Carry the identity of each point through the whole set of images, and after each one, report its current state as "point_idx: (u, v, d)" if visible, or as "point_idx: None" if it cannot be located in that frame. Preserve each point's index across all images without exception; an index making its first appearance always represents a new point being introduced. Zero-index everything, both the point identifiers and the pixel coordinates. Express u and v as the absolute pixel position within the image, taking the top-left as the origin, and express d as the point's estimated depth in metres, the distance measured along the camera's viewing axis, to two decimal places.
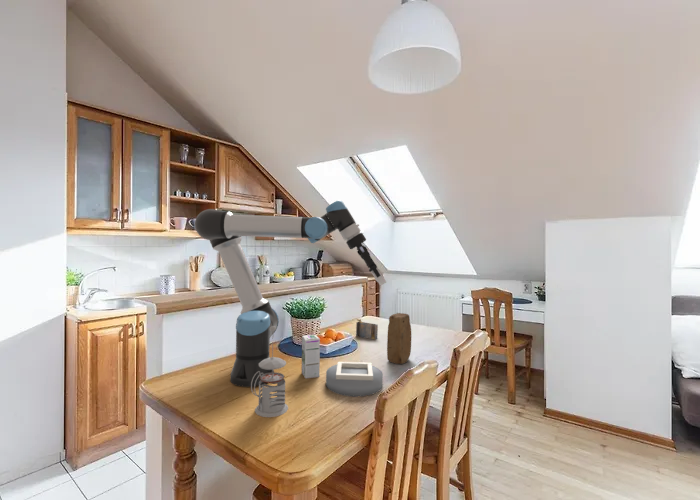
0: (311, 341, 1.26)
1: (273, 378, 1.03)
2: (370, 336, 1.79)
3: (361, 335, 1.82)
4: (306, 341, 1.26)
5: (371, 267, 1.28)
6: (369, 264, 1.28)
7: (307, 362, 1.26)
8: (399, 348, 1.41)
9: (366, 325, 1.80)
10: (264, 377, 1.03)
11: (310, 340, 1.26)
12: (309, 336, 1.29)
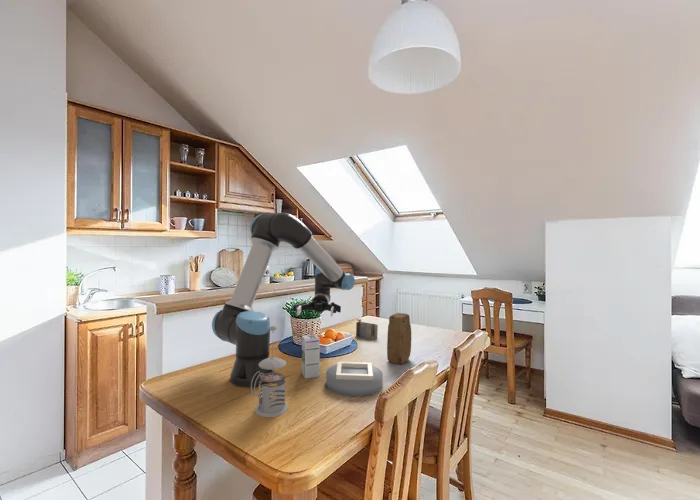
0: (311, 341, 1.26)
1: (273, 378, 1.03)
2: (370, 336, 1.79)
3: (361, 335, 1.82)
4: (306, 341, 1.26)
5: (340, 307, 1.46)
6: None
7: (307, 362, 1.26)
8: (399, 348, 1.41)
9: (366, 325, 1.80)
10: (264, 377, 1.03)
11: (310, 340, 1.26)
12: (309, 336, 1.29)
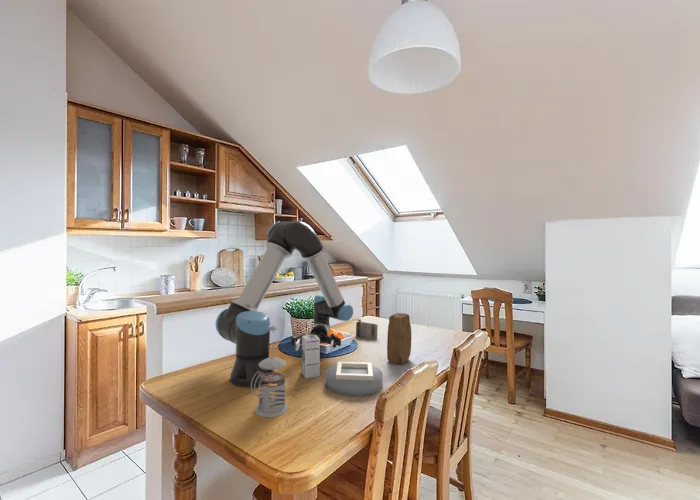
0: (311, 341, 1.26)
1: (273, 378, 1.03)
2: (370, 336, 1.79)
3: (361, 335, 1.82)
4: (306, 341, 1.26)
5: (340, 341, 1.41)
6: None
7: (307, 362, 1.26)
8: (399, 348, 1.41)
9: (366, 325, 1.80)
10: (264, 377, 1.03)
11: (310, 340, 1.26)
12: (309, 336, 1.29)
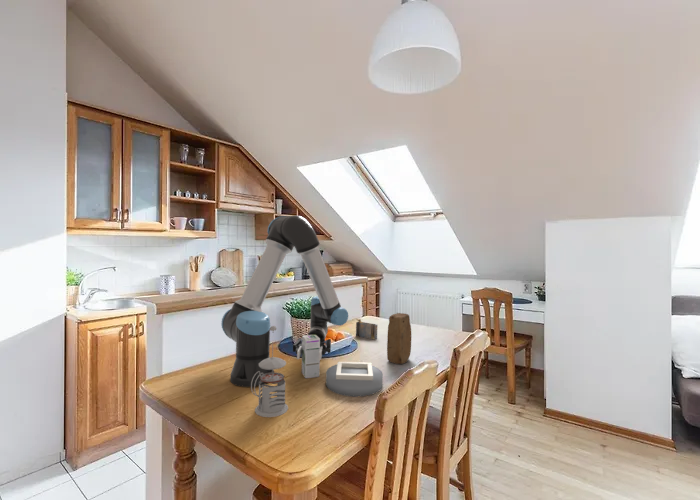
0: (311, 341, 1.26)
1: (273, 378, 1.03)
2: (370, 336, 1.79)
3: (361, 335, 1.82)
4: (306, 341, 1.26)
5: None
6: None
7: (307, 362, 1.26)
8: (399, 348, 1.41)
9: (366, 325, 1.80)
10: (264, 377, 1.03)
11: (310, 339, 1.26)
12: (309, 336, 1.29)
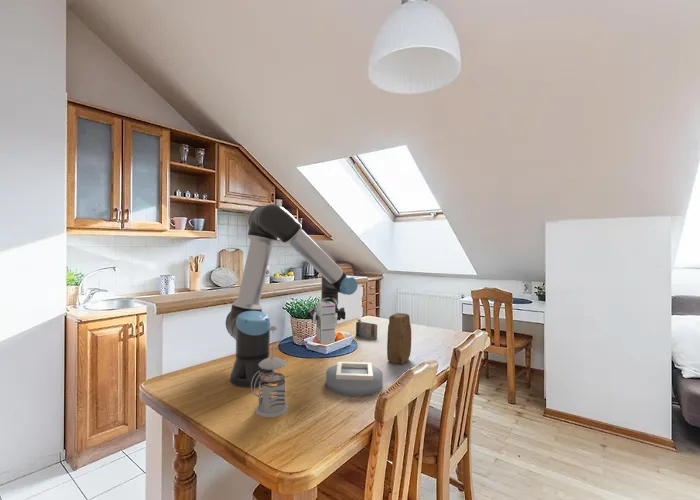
0: (327, 306, 1.25)
1: (273, 378, 1.03)
2: (370, 336, 1.79)
3: (361, 335, 1.82)
4: (322, 306, 1.24)
5: None
6: None
7: (322, 327, 1.25)
8: (399, 348, 1.41)
9: (366, 325, 1.80)
10: (264, 377, 1.03)
11: (325, 305, 1.25)
12: (324, 302, 1.27)
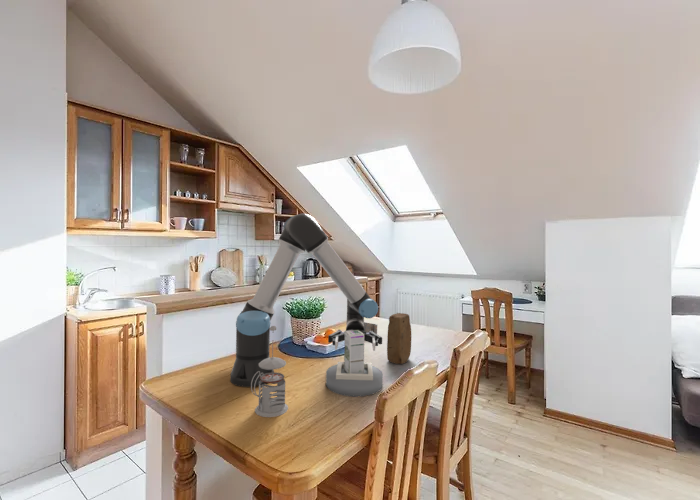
0: (356, 336, 1.19)
1: (273, 378, 1.03)
2: None
3: None
4: (351, 336, 1.19)
5: None
6: None
7: (351, 359, 1.19)
8: (399, 348, 1.41)
9: (366, 325, 1.80)
10: (264, 377, 1.03)
11: (354, 335, 1.19)
12: (352, 332, 1.22)
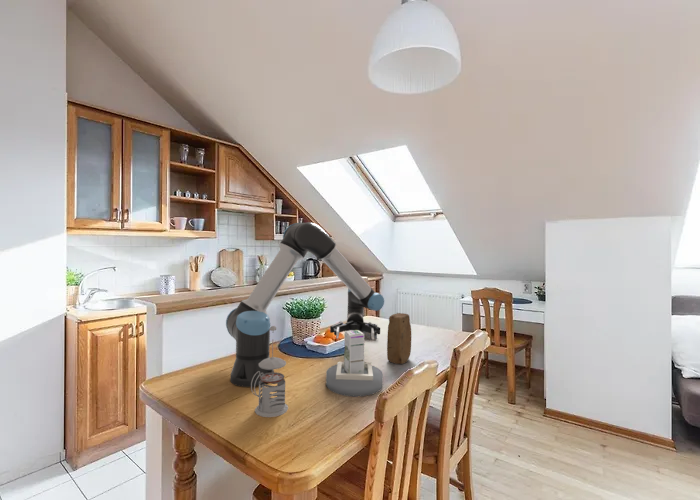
0: (356, 336, 1.19)
1: (273, 378, 1.03)
2: (370, 336, 1.79)
3: None
4: (351, 336, 1.19)
5: None
6: None
7: (351, 359, 1.19)
8: (399, 348, 1.41)
9: None
10: (264, 377, 1.03)
11: (354, 335, 1.19)
12: (352, 332, 1.22)
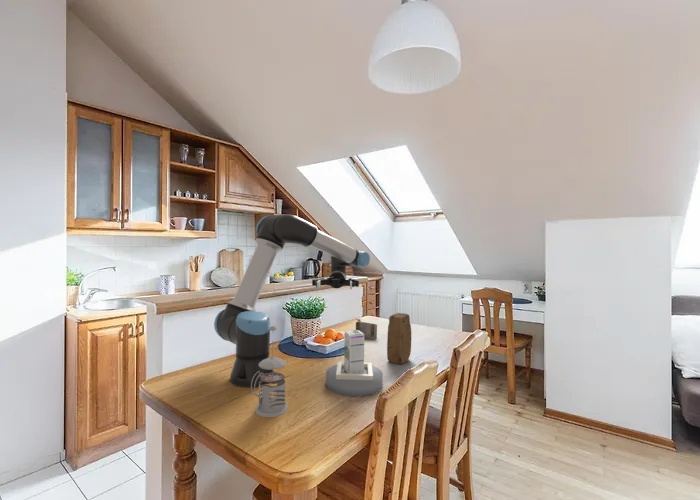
0: (356, 336, 1.19)
1: (273, 378, 1.03)
2: (369, 336, 1.79)
3: None
4: (351, 336, 1.19)
5: None
6: None
7: (351, 359, 1.19)
8: (399, 348, 1.41)
9: (365, 325, 1.80)
10: (264, 377, 1.03)
11: (354, 335, 1.19)
12: (352, 332, 1.22)
